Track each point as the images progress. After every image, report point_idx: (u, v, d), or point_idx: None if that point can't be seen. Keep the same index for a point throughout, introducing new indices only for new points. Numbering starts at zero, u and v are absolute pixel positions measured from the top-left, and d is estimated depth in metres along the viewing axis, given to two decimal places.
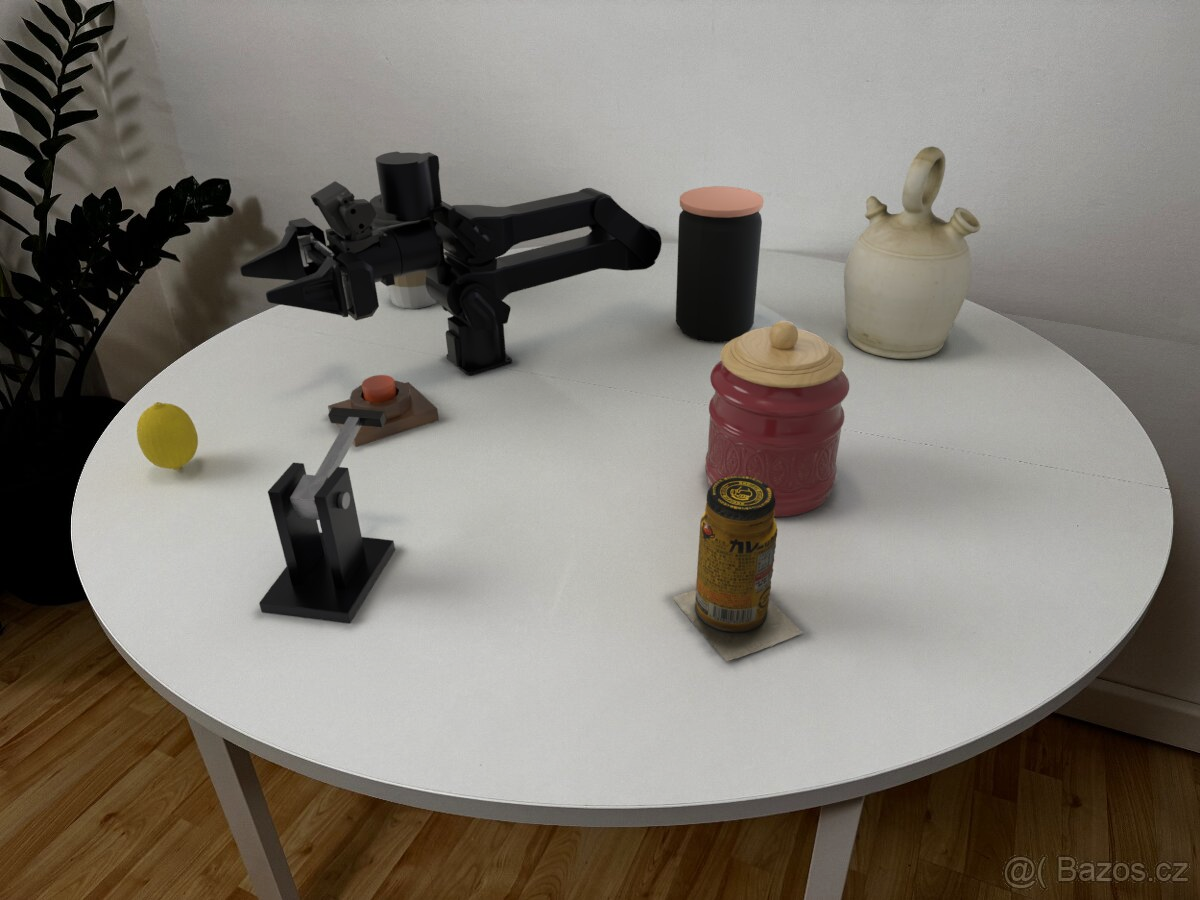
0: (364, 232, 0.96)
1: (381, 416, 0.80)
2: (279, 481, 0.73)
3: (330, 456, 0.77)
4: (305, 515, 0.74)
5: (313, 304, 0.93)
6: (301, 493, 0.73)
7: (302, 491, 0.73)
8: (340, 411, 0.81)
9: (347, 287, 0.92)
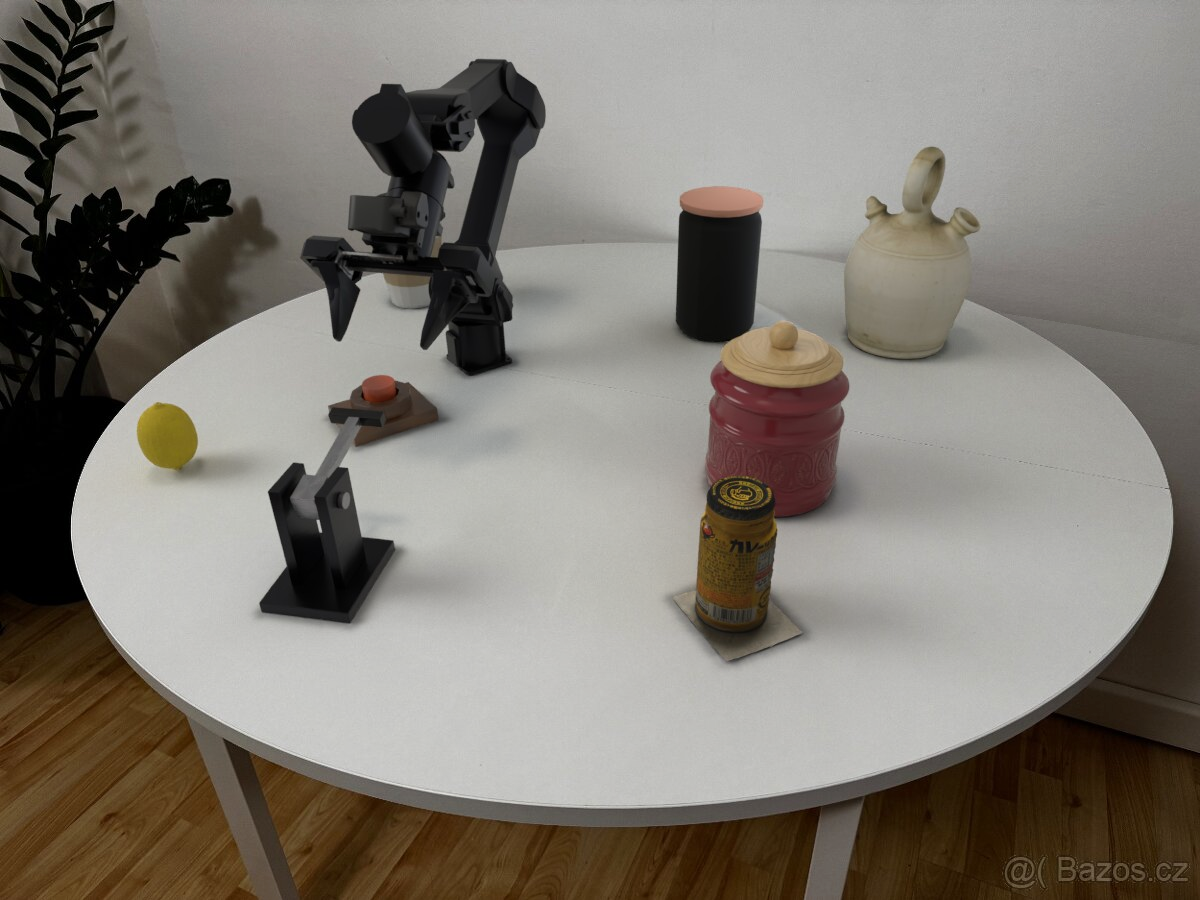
0: None
1: (381, 416, 0.80)
2: (279, 481, 0.73)
3: (330, 456, 0.77)
4: (305, 515, 0.74)
5: (450, 316, 0.89)
6: (301, 493, 0.73)
7: (302, 491, 0.73)
8: (340, 411, 0.81)
9: (469, 280, 0.87)
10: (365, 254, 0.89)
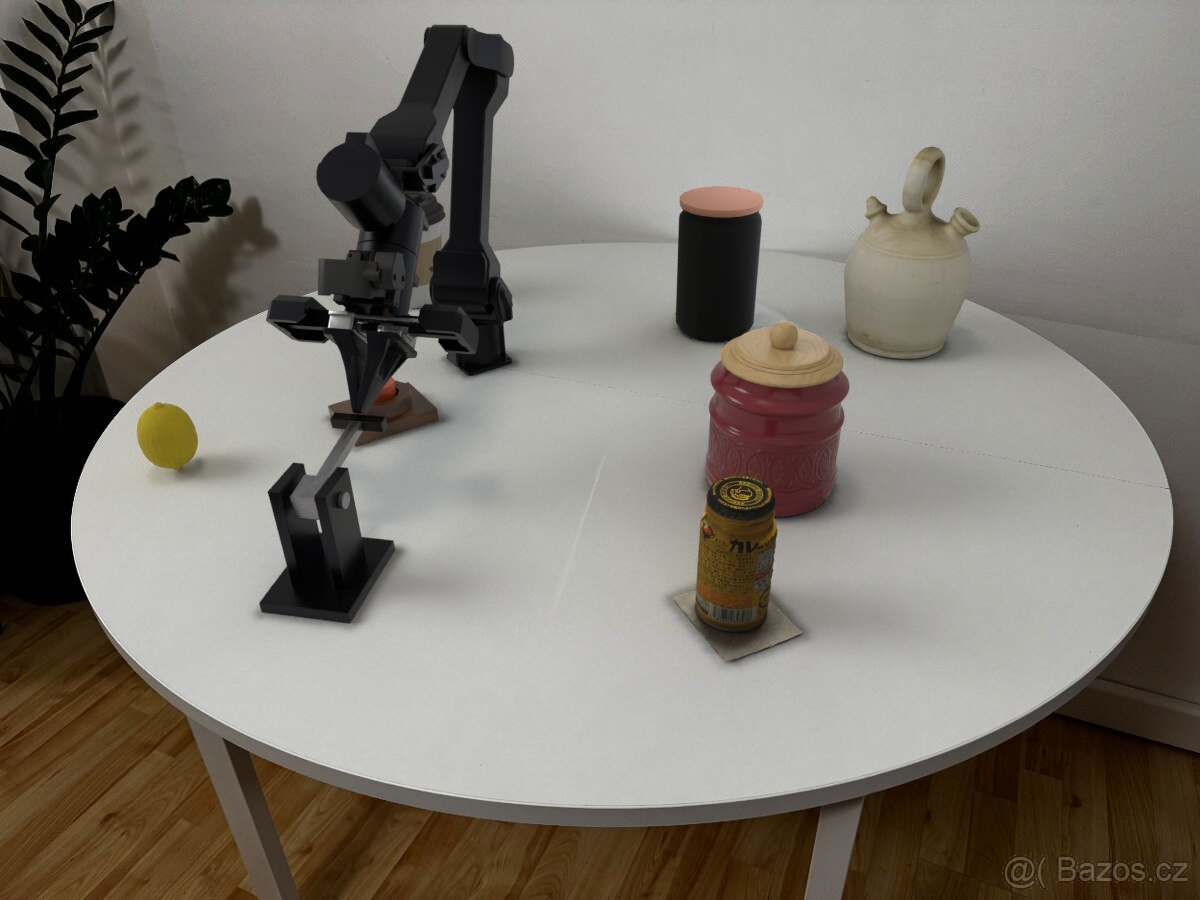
0: None
1: (382, 421, 0.81)
2: (279, 481, 0.73)
3: (331, 458, 0.77)
4: (304, 515, 0.74)
5: (387, 375, 0.83)
6: (301, 492, 0.73)
7: (302, 490, 0.73)
8: (342, 416, 0.81)
9: (406, 337, 0.82)
10: None
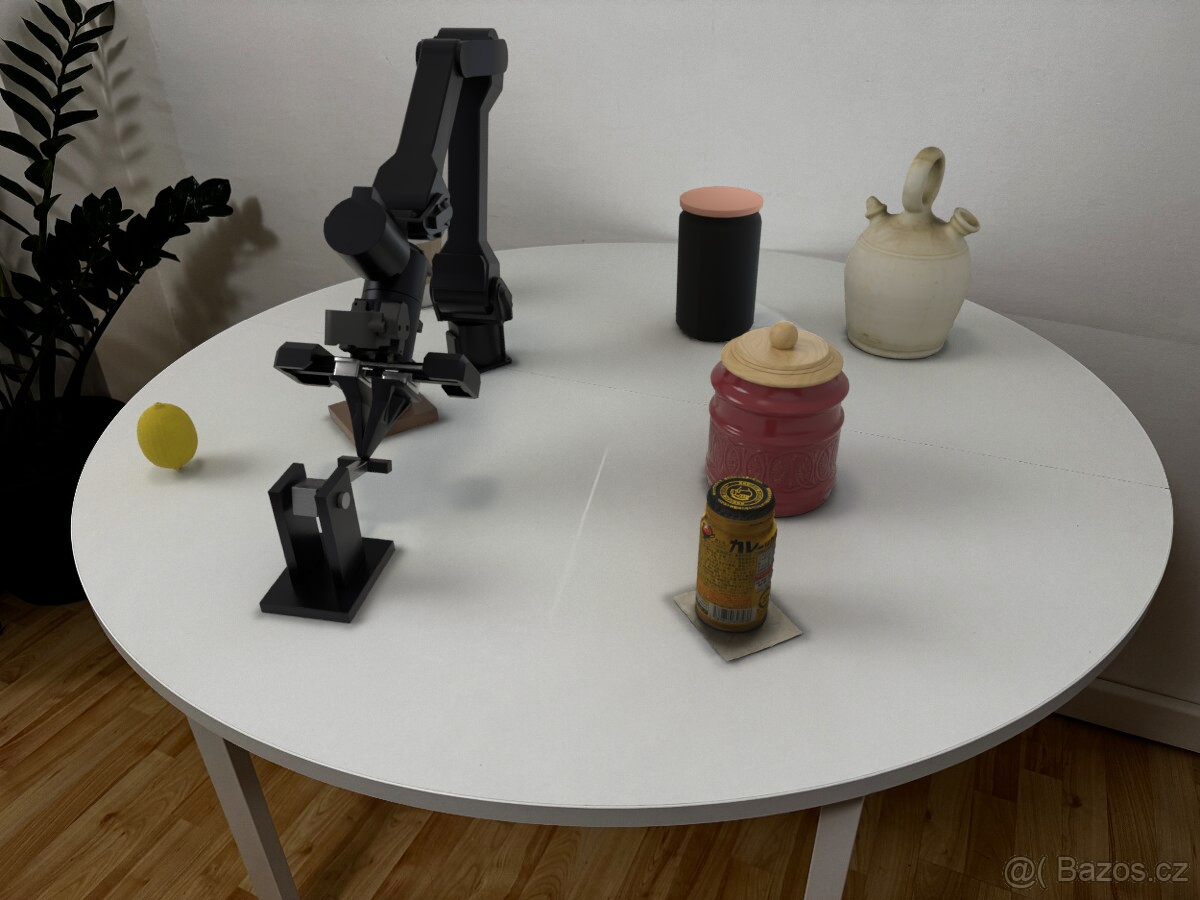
0: None
1: (388, 462, 0.83)
2: (279, 481, 0.73)
3: None
4: (301, 511, 0.73)
5: (392, 420, 0.85)
6: (304, 485, 0.73)
7: (305, 484, 0.73)
8: (350, 457, 0.84)
9: (410, 384, 0.84)
10: None
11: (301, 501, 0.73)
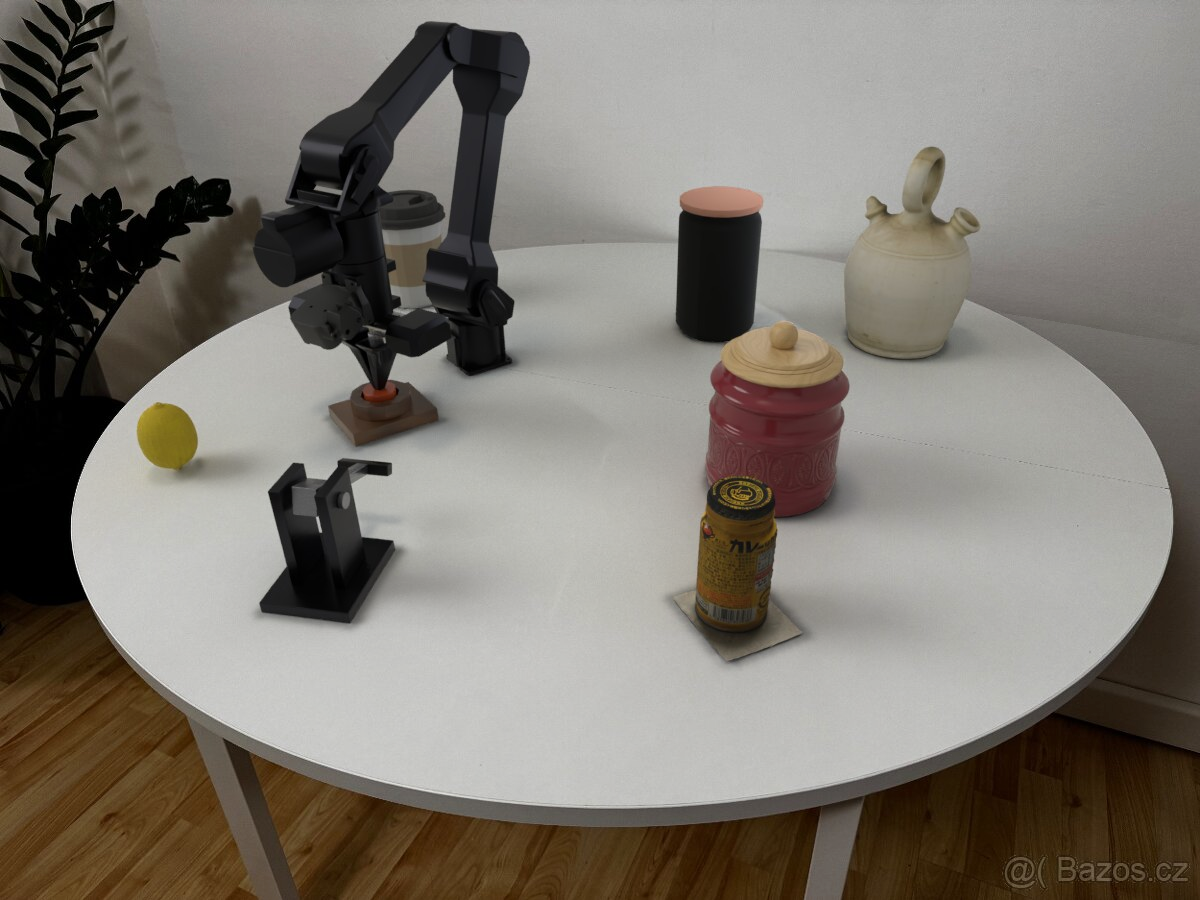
0: (359, 309, 0.90)
1: (389, 464, 0.83)
2: (279, 481, 0.73)
3: None
4: (301, 511, 0.73)
5: (393, 353, 0.99)
6: (304, 485, 0.73)
7: (305, 484, 0.73)
8: (350, 460, 0.84)
9: None
10: None
11: (301, 501, 0.73)
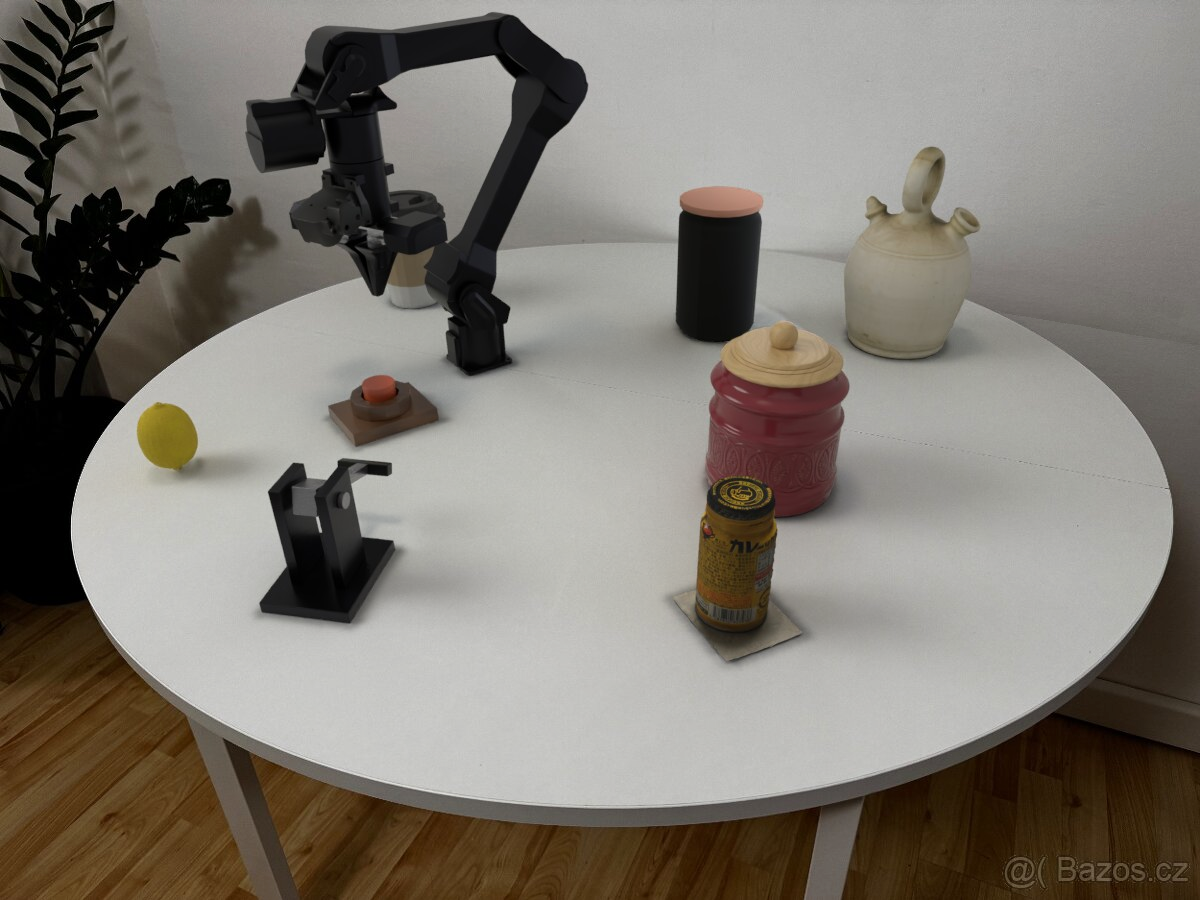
0: (357, 208, 0.93)
1: (389, 464, 0.83)
2: (279, 481, 0.73)
3: None
4: (301, 511, 0.73)
5: (391, 259, 1.01)
6: (304, 485, 0.73)
7: (305, 484, 0.73)
8: (350, 460, 0.84)
9: None
10: None
11: (301, 501, 0.73)
